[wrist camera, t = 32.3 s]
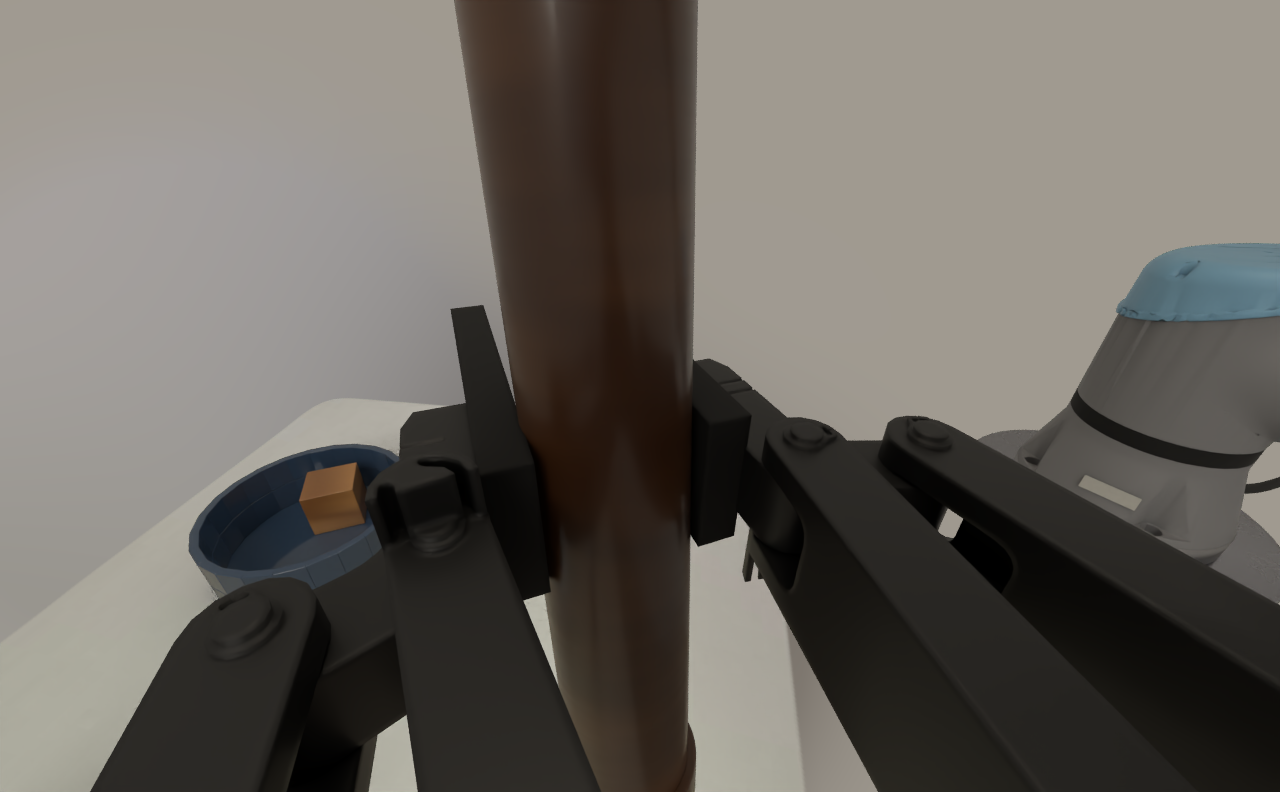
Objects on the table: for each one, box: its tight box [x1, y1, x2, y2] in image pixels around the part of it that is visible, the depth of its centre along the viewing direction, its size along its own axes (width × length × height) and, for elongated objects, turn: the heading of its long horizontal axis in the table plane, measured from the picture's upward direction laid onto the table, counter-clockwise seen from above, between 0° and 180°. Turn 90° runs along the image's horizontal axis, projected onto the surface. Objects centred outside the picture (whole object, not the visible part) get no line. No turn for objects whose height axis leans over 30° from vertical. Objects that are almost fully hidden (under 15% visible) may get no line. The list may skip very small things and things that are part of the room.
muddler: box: [454, 0, 698, 792], centre depth 9 cm, size 3×3×16 cm
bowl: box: [189, 444, 399, 599], centre depth 42 cm, size 15×15×6 cm
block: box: [299, 462, 367, 535], centre depth 44 cm, size 4×4×4 cm
